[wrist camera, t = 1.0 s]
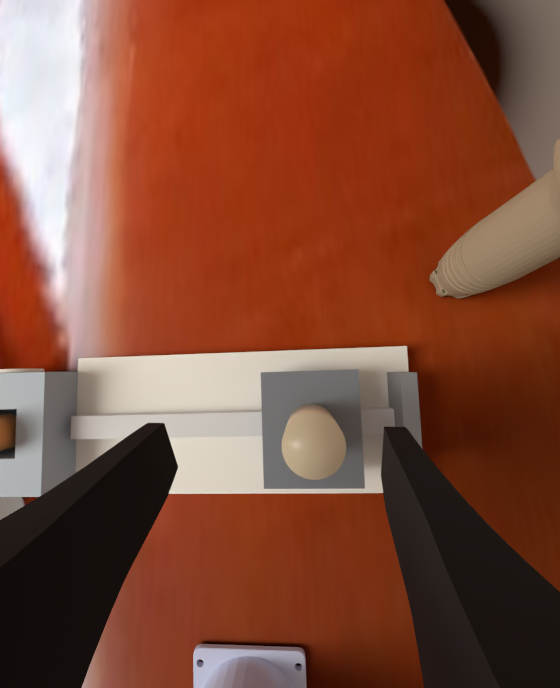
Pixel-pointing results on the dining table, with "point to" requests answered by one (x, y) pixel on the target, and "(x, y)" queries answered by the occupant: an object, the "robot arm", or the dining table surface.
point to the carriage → (312, 430)
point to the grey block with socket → (38, 430)
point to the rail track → (231, 410)
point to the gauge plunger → (7, 431)
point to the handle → (505, 241)
